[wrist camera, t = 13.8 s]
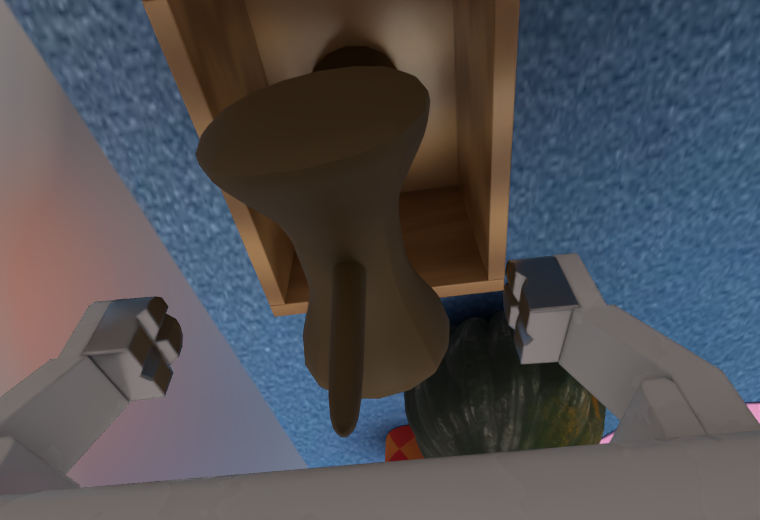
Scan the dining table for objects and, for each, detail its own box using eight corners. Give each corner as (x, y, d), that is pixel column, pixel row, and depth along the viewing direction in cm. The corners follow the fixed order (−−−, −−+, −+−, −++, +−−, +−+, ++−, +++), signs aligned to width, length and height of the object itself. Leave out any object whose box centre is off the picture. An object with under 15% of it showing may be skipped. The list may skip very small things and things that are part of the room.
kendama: (396, -21, 21) (478, 226, 6) (421, 160, 27) (494, 512, 12) (274, 6, 22) (65, 294, 7) (326, 177, 28) (279, 534, 13)
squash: (624, 423, 39) (661, 533, 25) (466, 464, 44) (424, 574, 30) (552, 272, 40) (549, 297, 26) (407, 331, 46) (341, 377, 32)
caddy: (213, -62, 21) (127, -29, 13) (465, -106, 20) (526, -97, 12) (296, 209, 30) (274, 317, 23) (468, 187, 30) (504, 290, 22)
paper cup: (455, 424, 49) (481, 577, 38) (431, 457, 53) (447, 602, 43) (386, 415, 47) (392, 572, 36) (367, 450, 52) (368, 598, 41)
